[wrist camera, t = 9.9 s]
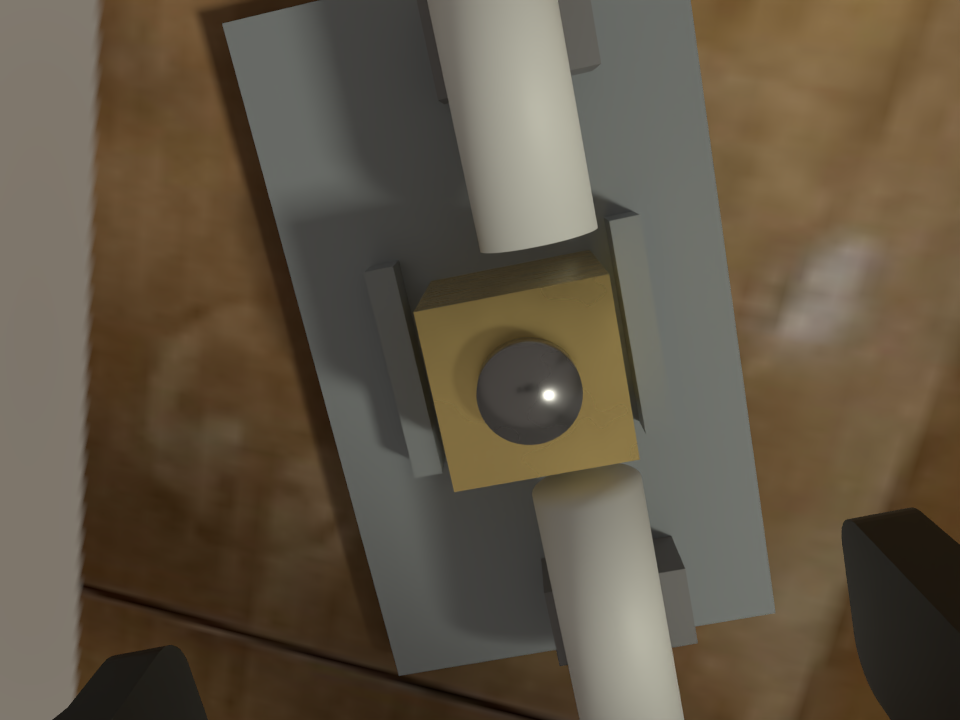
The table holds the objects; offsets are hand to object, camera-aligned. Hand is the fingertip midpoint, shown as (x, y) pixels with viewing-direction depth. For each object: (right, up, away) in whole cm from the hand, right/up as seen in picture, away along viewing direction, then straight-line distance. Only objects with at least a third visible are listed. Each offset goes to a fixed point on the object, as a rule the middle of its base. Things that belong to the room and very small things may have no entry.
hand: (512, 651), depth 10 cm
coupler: (+1, +4, +14) cm, 14 cm away
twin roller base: (+1, +4, +15) cm, 15 cm away
